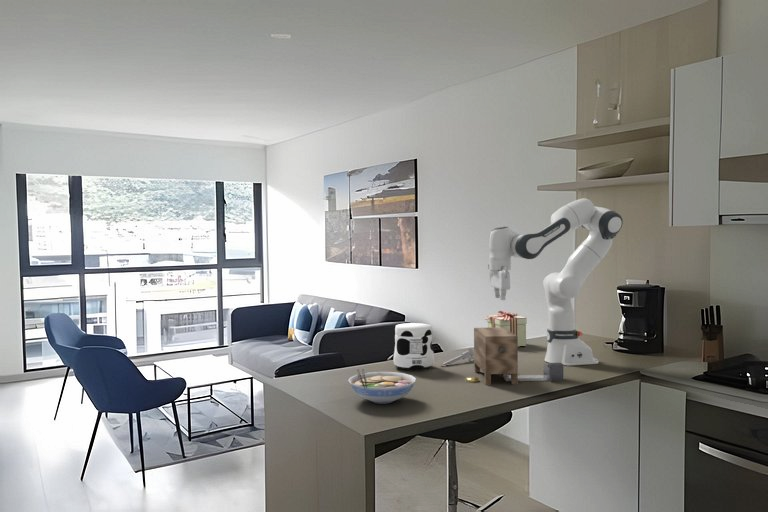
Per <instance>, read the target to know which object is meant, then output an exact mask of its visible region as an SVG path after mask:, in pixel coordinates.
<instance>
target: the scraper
mask: <svg viewBox="0 0 768 512" xmlns="http://www.w3.org/2000/svg"><path fill="white" fill-rule="evenodd" d="M502 375H503V377H504V378H503V379H504V381H505V382H509V381H510V382H511V374H502ZM518 381H519V382H527V381H528V382H531V381H532V382H535V381H536V382H543V381H544V382H547V381H548V382H549V383H553V381H564V365H563V364H562V363H549V362H547V363H543V374H530V375H529V374H521V375H520V374H518Z"/></svg>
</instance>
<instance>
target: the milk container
mask: <svg viewBox="0 0 768 512" xmlns="http://www.w3.org/2000/svg"><path fill="white" fill-rule="evenodd" d="M394 331H395V332H394V333H395V334H394V343H395V344H394V349H393V354H392V360H393V364H394V367H396V368H399V369H402V370H406V371H420V370H427V369H430V368H431V367H432V366H433V365H434V362H435V352H434V348H433V335H432V333H433V329H432V325H431V324H428V323H421V322H420V323H418V322H411V323H409V322H407V323H400V324H399V323H398V324H396V325H395V328H394Z"/></svg>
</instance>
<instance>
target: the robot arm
mask: <svg viewBox="0 0 768 512" xmlns="http://www.w3.org/2000/svg"><path fill="white" fill-rule="evenodd" d="M623 222H624V221H623V217H622V215H621V214H619V213H618V212H617V211H614V210H611V209H609V208H606V207H601V206H595V204H594V203H593V202H592V200H590V199H589V198H584V197H583V198H578V199H576V200H573V201H571V202H569V203H567V204H565V205H563V206H561V207H559V208H558V209H557V210H556V211H554V212H553V213H552V214H551V216H550V224H549V225H548V226H546V227H545V228H543V229H541V230H540V231H538V232H536V233H528V234H521V233H518V232H516V231H514V230H512V229H511V228H510V227H509V226H499V227H496V228H493V229H492V230H491V231H490V235H489V242H488V244H489V246H488V247H489V259H488V265H487V266H488V267H487V268H488V269H487V270H488V271H489V283H490V286H491V287H493V290H494V298H496V299H500V300H501V301H506V295H507V291H508V290H510V289H511V274H510V271H511V270H512V266H511V265H512V257H514V258H520V259H526V260H533V259H536V258H537V257H538V256H540V255H541V253H542V251H543V250H544V249H545V248H546V247H547V246H548V245H550V244H552V243H553V242H555V241H557V239H560V238H561V237H562V236H564V235H567V234H569V233H571V232H573V231H575V230H577V229H578V228H580V227H582V228H583V229H586V230H588V231H589V234H588V236H587V237H586V238H585V240H583V241H582V242H581V243H580V244H579V246H578V247H577V248H576V249H575V250H574V251H573V252H572V253H571V255H569V257H568V259H567V262H566V264H565V265H564V267H563V268H562V270H561V271H560V272H558V271H557V272H555V271H554V272H551V273H549V274H548V275H546V276H545V277H544V279H543V282H542V287H543V289H544V294H545V302H546V305H547V306H546V307H547V316H548V317H547V318H548V319H547V324H548V325H547V326H548V328H547V330H546V339H547V340H546V341H547V347H546V353H545V356H544V361H545V362H547V363H562V364H563V366H581V365H584V366H585V365H596V364H597V365H598V364H599V359H597V358H596V357H594V355H593V350H592V348H591V347H590V346H589V345H588V344H586V343H585V342H584V341H583V340H582V339H580V338H579V337H582V336H583V332H582V331H580V330H577V329H575V310H574V308H573V304H572V299H573V298H576V297H577V296H578V295H579V294H580V293H581V289H582V286H583V285H584V283H585V282H586V280H587V278H588V276H589V275H590V274H591V272H592V271H594V269H595V268H597V266H598V265H599V264H600V262H601V261H602V260H603V259H604V258H605V256H606V255H607V253H608V252H609V250H610V248H612V245H613V239H614V238H615V237H617V235H618V234H619V232H620V231H621V229H622V227H623V224H624V223H623Z"/></svg>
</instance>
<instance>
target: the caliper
mask: <svg viewBox="0 0 768 512" xmlns="http://www.w3.org/2000/svg"><path fill="white" fill-rule="evenodd" d="M467 349H468V350H466V351H463V352H462V353H460V354H459V355H458V356H456V357H455V356H454V357H453V358H451V359H449V360H448V361H444V362H443V363H442V364H441V365H447V364H450V365H452V364H454V363H456V362H459V361H461V360H466V359H467V360H468V361H469V360H471V359H474V348H473V347H468V348H467ZM471 361H472V360H471Z"/></svg>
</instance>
